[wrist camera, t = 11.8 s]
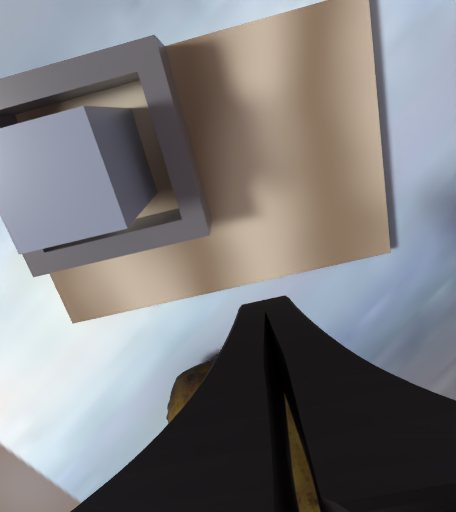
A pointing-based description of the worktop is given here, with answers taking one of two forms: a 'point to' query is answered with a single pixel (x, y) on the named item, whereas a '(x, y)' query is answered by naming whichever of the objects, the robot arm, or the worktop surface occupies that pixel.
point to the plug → (72, 176)
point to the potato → (301, 472)
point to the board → (255, 160)
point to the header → (167, 130)
